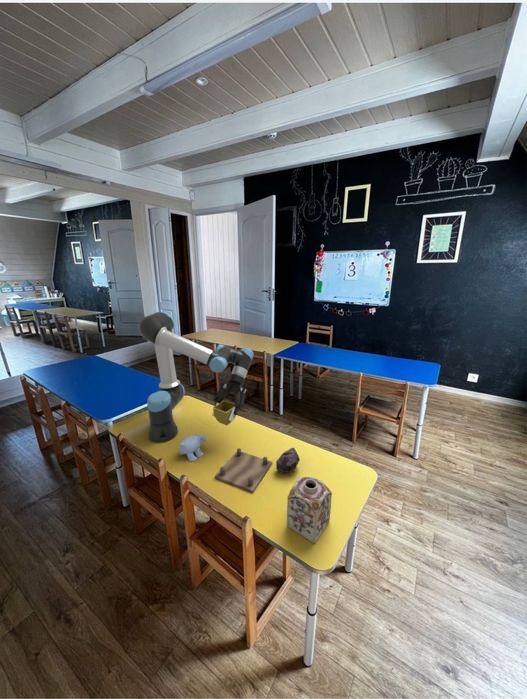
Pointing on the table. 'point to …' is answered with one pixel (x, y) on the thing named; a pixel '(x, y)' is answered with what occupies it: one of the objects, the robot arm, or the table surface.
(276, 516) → the table surface
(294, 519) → the decorative jar
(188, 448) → the hippopotamus toy
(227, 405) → the flower pot
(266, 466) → the standoff plate
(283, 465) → the rock
